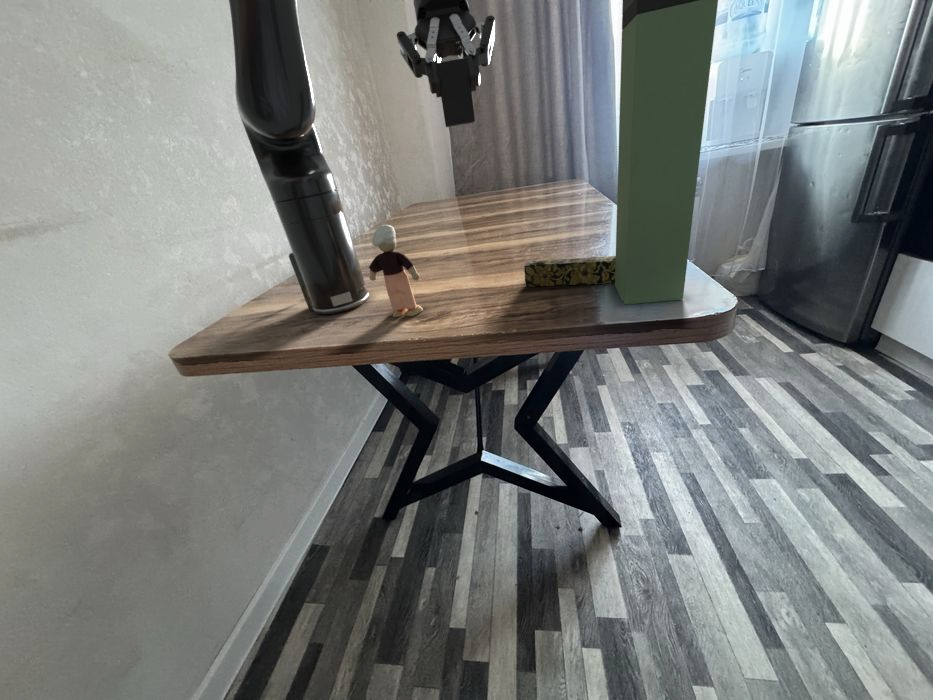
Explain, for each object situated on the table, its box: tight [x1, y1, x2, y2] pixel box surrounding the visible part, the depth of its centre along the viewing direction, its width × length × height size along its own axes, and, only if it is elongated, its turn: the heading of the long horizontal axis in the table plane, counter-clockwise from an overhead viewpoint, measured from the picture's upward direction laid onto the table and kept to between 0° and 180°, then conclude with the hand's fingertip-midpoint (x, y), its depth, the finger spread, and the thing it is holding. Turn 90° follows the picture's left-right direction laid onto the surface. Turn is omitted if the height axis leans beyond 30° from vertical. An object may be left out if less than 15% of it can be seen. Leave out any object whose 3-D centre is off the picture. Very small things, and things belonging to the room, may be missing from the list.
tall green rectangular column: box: [614, 0, 719, 305], centre depth 42 cm, size 7×7×32 cm
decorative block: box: [523, 255, 616, 288], centre depth 55 cm, size 15×2×4 cm, turn 72°
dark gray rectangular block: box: [436, 58, 476, 128], centre depth 52 cm, size 4×4×7 cm
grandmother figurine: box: [368, 224, 424, 318], centre depth 54 cm, size 8×4×13 cm, turn 84°
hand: (455, 87), depth 50 cm, fingers closed on dark gray rectangular block, 4 cm apart
